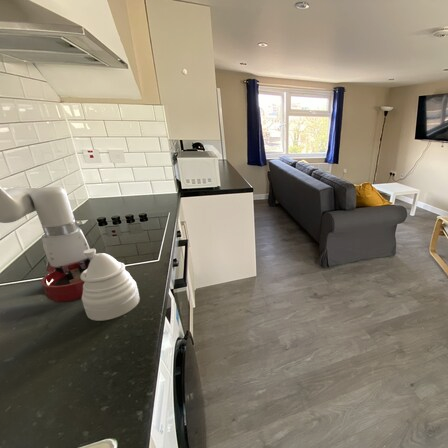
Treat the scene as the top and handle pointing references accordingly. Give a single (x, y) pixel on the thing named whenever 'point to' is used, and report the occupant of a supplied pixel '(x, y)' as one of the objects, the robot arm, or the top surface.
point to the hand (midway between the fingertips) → (78, 280)
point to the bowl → (62, 286)
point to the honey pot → (107, 287)
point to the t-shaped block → (75, 276)
